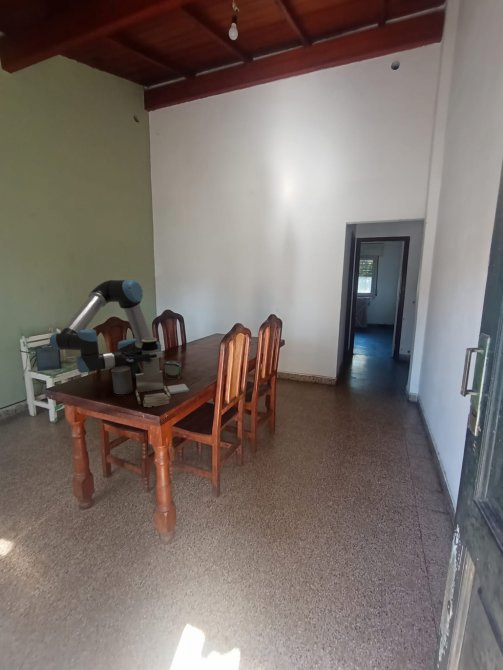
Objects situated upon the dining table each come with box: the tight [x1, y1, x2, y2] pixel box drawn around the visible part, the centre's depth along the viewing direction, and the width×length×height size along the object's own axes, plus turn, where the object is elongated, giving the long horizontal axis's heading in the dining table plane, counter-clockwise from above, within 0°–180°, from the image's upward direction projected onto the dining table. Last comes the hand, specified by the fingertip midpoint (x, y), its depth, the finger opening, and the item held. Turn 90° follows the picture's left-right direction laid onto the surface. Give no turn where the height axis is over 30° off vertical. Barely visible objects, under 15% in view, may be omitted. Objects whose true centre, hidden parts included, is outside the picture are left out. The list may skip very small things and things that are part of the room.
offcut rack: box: [135, 370, 172, 408], centre depth 177 cm, size 26×16×10 cm, turn 24°
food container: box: [163, 360, 183, 381], centre depth 208 cm, size 12×6×10 cm, turn 65°
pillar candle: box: [110, 366, 134, 395], centre depth 184 cm, size 10×10×15 cm
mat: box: [166, 383, 190, 395], centre depth 188 cm, size 10×10×1 cm
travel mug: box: [142, 337, 161, 376], centre depth 172 cm, size 8×8×18 cm
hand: (159, 352), depth 174 cm, fingers closed on travel mug, 8 cm apart
